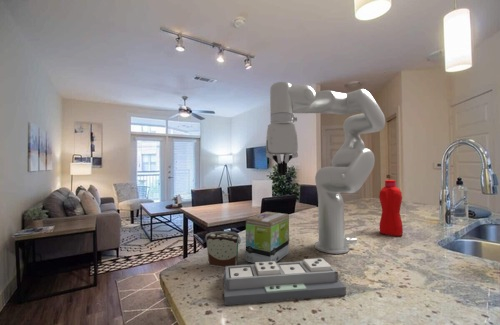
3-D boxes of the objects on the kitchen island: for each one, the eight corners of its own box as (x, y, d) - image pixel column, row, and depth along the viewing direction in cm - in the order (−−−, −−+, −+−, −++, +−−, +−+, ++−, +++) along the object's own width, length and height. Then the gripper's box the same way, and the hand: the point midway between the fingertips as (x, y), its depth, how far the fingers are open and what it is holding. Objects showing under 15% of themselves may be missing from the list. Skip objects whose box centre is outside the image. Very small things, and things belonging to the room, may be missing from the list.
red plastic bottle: (402, 231, 115) (402, 179, 115) (402, 237, 106) (401, 180, 106) (380, 229, 120) (380, 179, 120) (379, 234, 111) (378, 180, 111)
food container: (246, 262, 81) (246, 232, 81) (239, 269, 75) (239, 237, 75) (213, 257, 85) (213, 229, 85) (204, 264, 79) (204, 234, 79)
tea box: (271, 268, 76) (270, 221, 76) (244, 261, 81) (244, 218, 81) (289, 253, 88) (289, 213, 88) (265, 248, 94) (265, 210, 94)
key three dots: (322, 265, 69) (322, 257, 69) (331, 274, 64) (331, 265, 64) (303, 266, 68) (303, 258, 69) (311, 275, 63) (311, 266, 63)
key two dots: (250, 274, 66) (250, 266, 66) (253, 284, 61) (253, 275, 61) (229, 276, 66) (229, 267, 66) (231, 286, 60) (230, 277, 60)
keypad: (321, 270, 74) (321, 255, 74) (345, 295, 60) (345, 276, 60) (223, 277, 70) (223, 261, 70) (224, 305, 56) (224, 285, 56)
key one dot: (298, 271, 68) (298, 263, 68) (306, 280, 63) (305, 271, 63) (279, 272, 68) (279, 264, 68) (285, 282, 62) (285, 273, 62)
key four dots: (274, 268, 67) (274, 260, 67) (279, 277, 62) (279, 269, 62) (255, 270, 67) (255, 261, 67) (258, 279, 61) (258, 270, 61)
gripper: (299, 122, 85) (299, 174, 85) (257, 122, 83) (258, 175, 83) (307, 118, 78) (307, 175, 78) (261, 118, 76) (262, 176, 76)
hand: (282, 175), depth 80 cm, fingers closed
